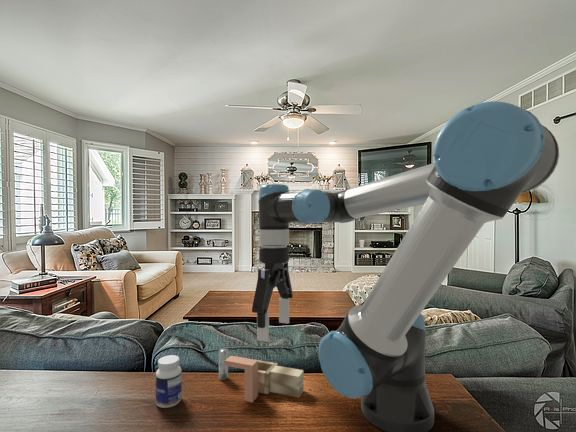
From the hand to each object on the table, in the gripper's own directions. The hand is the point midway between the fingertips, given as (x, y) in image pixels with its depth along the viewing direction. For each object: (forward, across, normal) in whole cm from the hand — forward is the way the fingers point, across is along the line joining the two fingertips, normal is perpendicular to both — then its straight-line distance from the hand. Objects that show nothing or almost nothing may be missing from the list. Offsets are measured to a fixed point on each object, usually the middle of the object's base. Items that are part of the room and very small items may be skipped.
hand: (274, 331), depth 81 cm
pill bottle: (+15, +14, -21) cm, 29 cm away
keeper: (+14, +6, -6) cm, 17 cm away
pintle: (+14, 0, -15) cm, 21 cm away
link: (+14, 0, 0) cm, 14 cm away
